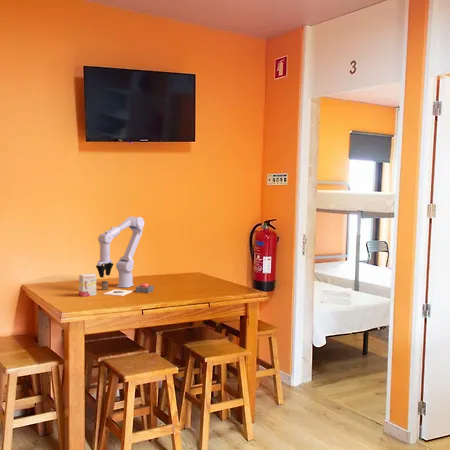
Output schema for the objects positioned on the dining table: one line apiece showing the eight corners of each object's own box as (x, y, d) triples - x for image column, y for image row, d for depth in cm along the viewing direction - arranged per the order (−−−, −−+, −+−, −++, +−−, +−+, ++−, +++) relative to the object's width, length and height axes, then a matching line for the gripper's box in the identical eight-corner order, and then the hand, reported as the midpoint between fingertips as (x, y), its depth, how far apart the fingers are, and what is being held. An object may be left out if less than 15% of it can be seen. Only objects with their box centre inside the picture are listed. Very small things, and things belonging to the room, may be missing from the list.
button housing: (141, 289, 325) (141, 284, 325) (153, 290, 323) (153, 285, 323) (135, 292, 318) (135, 287, 317) (148, 293, 315) (148, 288, 315)
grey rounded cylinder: (103, 289, 325) (103, 280, 325) (108, 289, 324) (108, 281, 324) (100, 290, 322) (100, 281, 321) (106, 290, 321) (106, 282, 320)
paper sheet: (114, 290, 322) (114, 289, 322) (133, 291, 319) (133, 290, 319) (103, 294, 309) (103, 293, 309) (122, 296, 306) (122, 295, 306)
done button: (142, 287, 323) (142, 283, 323) (149, 287, 322) (149, 283, 322) (139, 288, 319) (139, 284, 318) (146, 289, 317) (146, 284, 317)
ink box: (82, 296, 301) (82, 275, 300) (78, 295, 305) (78, 274, 304) (96, 295, 307) (96, 274, 306) (92, 293, 311) (92, 273, 310)
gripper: (104, 251, 329) (104, 274, 330) (92, 254, 316) (92, 277, 316) (115, 252, 328) (115, 274, 328) (103, 255, 314) (103, 278, 315)
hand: (104, 276), depth 322 cm, fingers open, 7 cm apart
